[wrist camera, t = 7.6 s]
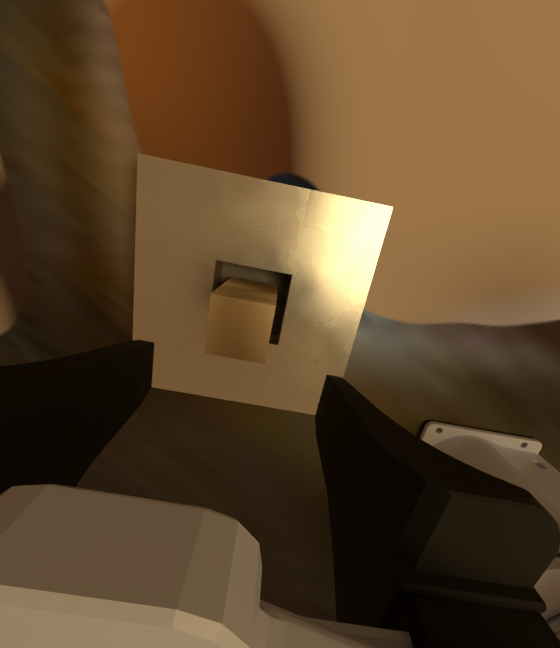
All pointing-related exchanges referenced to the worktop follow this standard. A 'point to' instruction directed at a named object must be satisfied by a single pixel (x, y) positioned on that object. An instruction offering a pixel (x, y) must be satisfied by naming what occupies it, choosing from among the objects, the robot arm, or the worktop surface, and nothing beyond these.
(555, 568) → the robot arm
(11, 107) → the worktop surface
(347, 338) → the plate with square hole
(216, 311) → the wooden block
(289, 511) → the worktop surface
